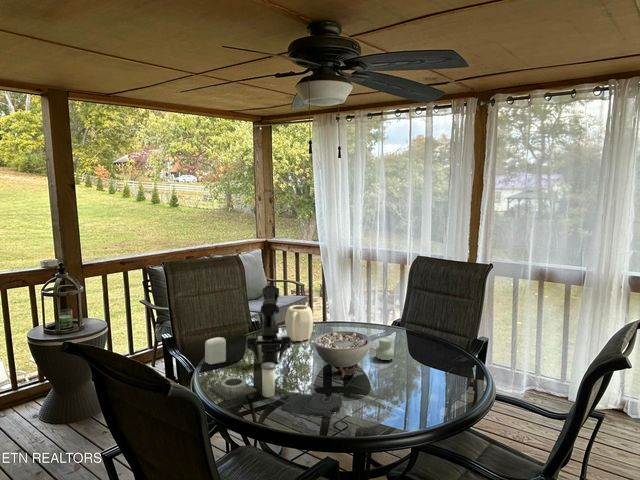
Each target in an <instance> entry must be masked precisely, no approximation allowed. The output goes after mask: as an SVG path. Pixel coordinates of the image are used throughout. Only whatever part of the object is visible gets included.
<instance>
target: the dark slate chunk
mask: <svg viewBox="0 0 640 480" xmlns="http://www.w3.org/2000/svg"><path fill="white" fill-rule="evenodd" d="M327 400H328V401H327ZM342 401H343V399H342V397H341V396H338V395H337V396H336V395H332V394H330V395H329V396H326V394H325V393H319V392H314V393H312V394H308V393H302V392H297V391H296V392H295V391H293V392H292V393H291V394H290V395H289V396H288V397H287V399H286V400H284V403H283V406H282V411H283V412H288V413H293V414H298V415H303V414H309V415H314V416H313V417H315V416H323V417H331V416H332V414H334V412H337V411H339V410H340V408H341V406H342V407H343V402H342ZM341 409H342V408H341ZM340 411H341V410H340ZM309 415H308V416H309Z"/></svg>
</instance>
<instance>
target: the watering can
mask: <svg viewBox="0 0 640 480" xmlns="http://www.w3.org/2000/svg"><path fill="white" fill-rule="evenodd" d="M308 304H309V302H307V301H306V302H305V304H297V305H296V304H294V305H291V306H289V307H287V310H286V312H285V318H284V324H285V331H286V335H287V337H290V338H291V340H292V341H291V342H296V341H302V342H304V341H303V340H307V339H308V340H310V339H311V336H312V333H313V327H314V314H313V313H314V312H313V310H312V308H311V307H310V306H309V305H308ZM308 340H307V341H308Z"/></svg>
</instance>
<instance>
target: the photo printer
mask: <svg viewBox="0 0 640 480" xmlns="http://www.w3.org/2000/svg"><path fill="white" fill-rule="evenodd" d="M226 347H227V342H226V338H224V337H220V336H218V337H213V338H210V339H207V340H205V342H204V363H205V362H206V363H208V364H210V365H215V364H221V363H224V362H227V354H226V353H227V349H226Z"/></svg>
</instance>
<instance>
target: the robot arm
mask: <svg viewBox="0 0 640 480" xmlns="http://www.w3.org/2000/svg"><path fill="white" fill-rule="evenodd" d="M262 298H263V301H262V305H260V314H261V315H262V317H261V318H262V332H261V339H260V340H259V339H257V337H256V336H255V337H253V336H252V337H251V336H250V337H247V338H246V347H247V350H250V351H253V354H254V356H255V359H256V362H259V353H258V346H261V353H262V361H261V364H263V363H268V362H271V363H275V365H280V362H281V360H282V359H283V358H282V357H283V355H284V353H285V351H287V350H288V349H290V348H291V344H292V343H291V342H292V341H291V338H290V337H288V336H281V339H278V334H280V326H279V325H277V322H276V321H277V318H276V317H277V314H278V313H280V307H279V305H277V303H278V301H279V299H278V298H280V288H278V287H277V286H276V285H273V284H271V285H270V284H269V285H265V287H263V288H262ZM278 353H279V357H278Z"/></svg>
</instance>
